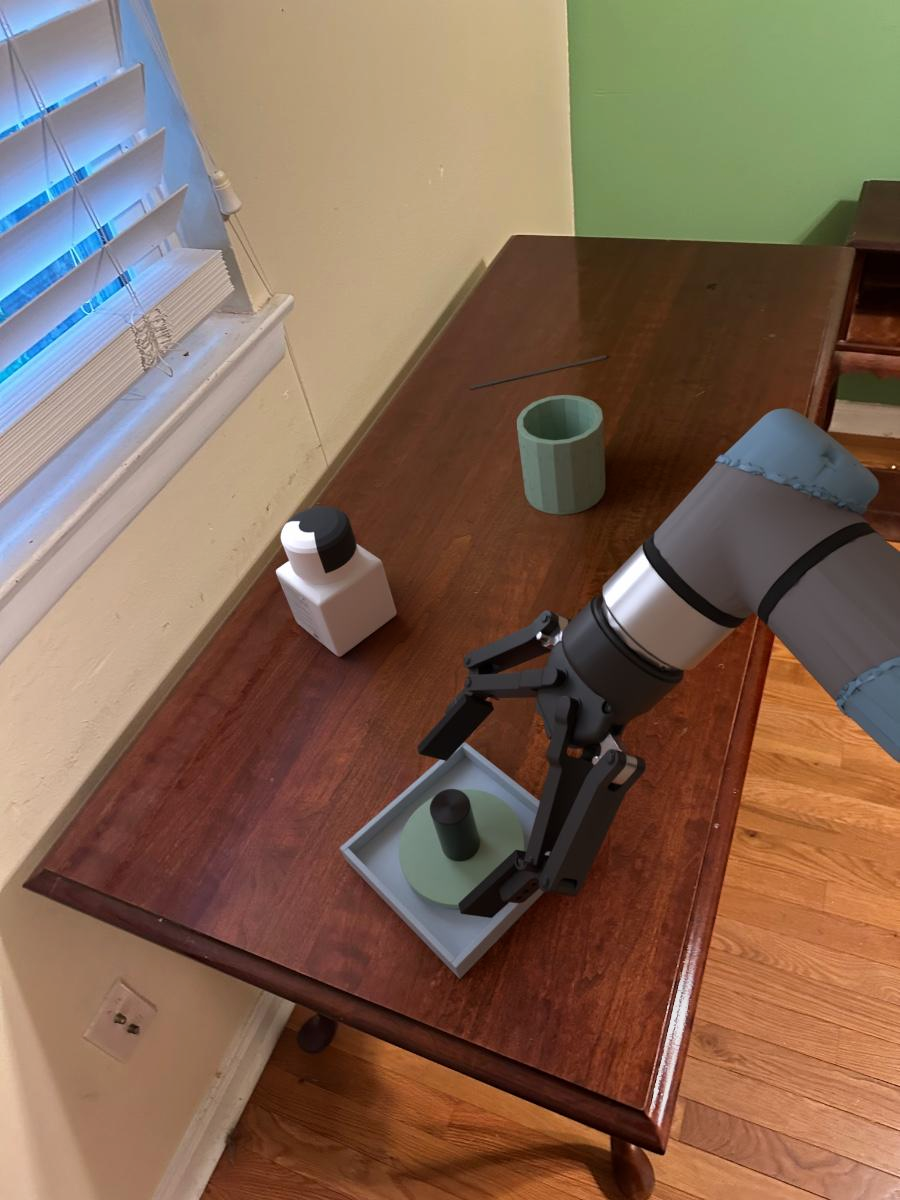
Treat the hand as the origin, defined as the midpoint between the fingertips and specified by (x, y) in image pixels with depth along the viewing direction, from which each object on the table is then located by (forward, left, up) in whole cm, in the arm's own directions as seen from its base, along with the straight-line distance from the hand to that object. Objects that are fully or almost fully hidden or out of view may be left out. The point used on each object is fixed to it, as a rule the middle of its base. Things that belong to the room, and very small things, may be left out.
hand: (451, 826), depth 63 cm
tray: (0, 0, -5) cm, 5 cm away
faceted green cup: (+24, -39, -5) cm, 47 cm away
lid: (0, -1, -4) cm, 4 cm away
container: (+28, -10, -6) cm, 31 cm away
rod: (+44, -56, -6) cm, 71 cm away
